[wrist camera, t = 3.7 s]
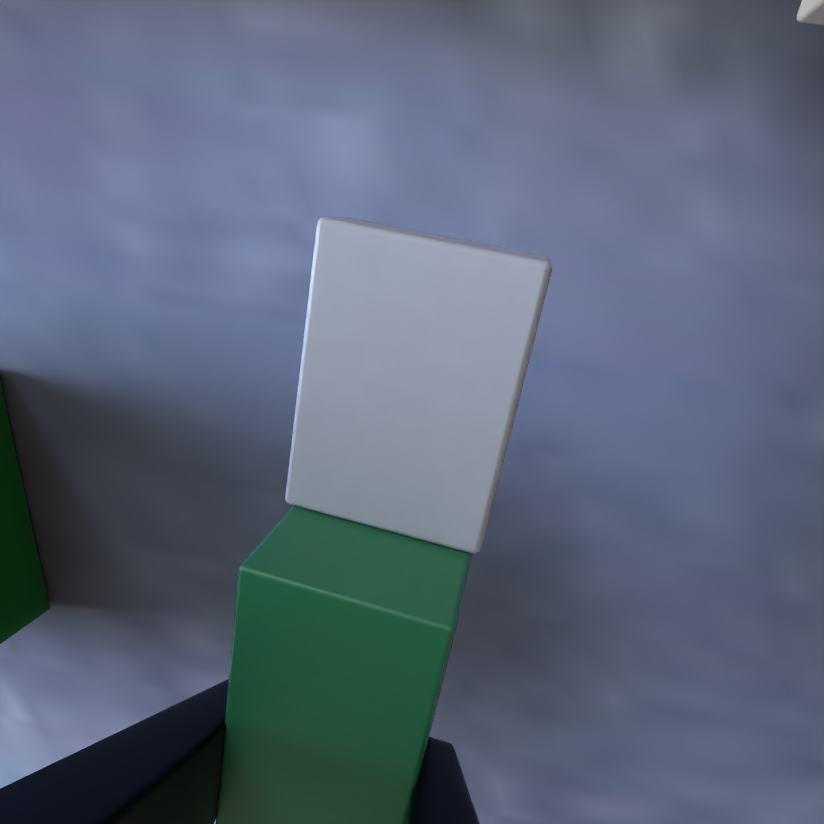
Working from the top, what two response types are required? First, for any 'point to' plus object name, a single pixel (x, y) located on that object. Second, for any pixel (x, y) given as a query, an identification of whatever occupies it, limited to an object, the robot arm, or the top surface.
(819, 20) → the drawer
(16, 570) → the soya milk
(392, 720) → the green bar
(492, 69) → the top surface
